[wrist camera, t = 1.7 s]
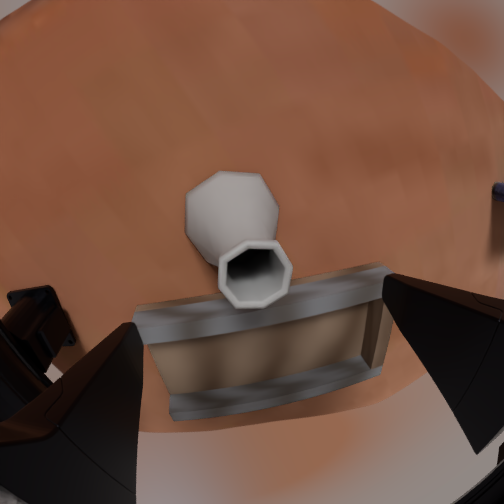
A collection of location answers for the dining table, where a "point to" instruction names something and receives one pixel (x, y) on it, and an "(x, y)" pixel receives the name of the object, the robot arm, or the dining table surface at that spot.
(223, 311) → the grey rectangular tray
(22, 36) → the dining table surface
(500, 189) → the flask
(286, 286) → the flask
